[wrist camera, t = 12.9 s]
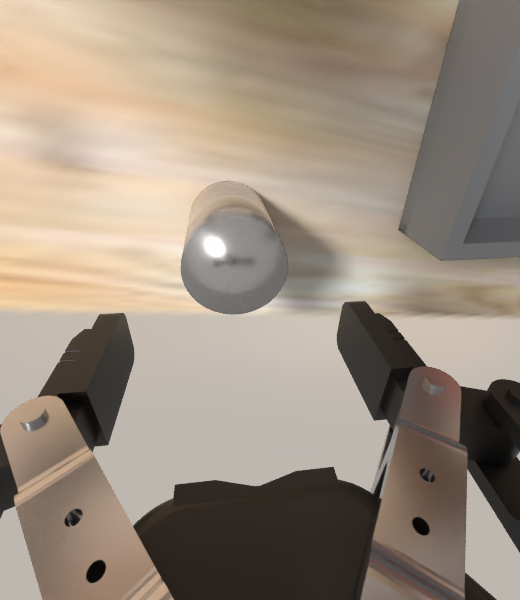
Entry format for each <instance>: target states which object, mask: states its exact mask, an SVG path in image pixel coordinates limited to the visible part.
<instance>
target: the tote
mask: <svg viewBox="0 0 520 600" xmlns="http://www.w3.org/2000/svg"><path fill="white" fill-rule="evenodd" d="M398 230H399V231H401V232H402V233H404V234H405V235H406V236H408V237H409V238H410V239H412V240H413V241H414V242H416V243H417V244H419V245H420V246H421V247H423V248H424V249H425V250H427V251H428V252H430V253H431V254H432V255H434V256H435V257H436V258H438V259H439V260H440V261H444V260H465V259H486V258H507V257H520V0H459V4H458V8H457V11H456V15H455V19H454V23H453V26H452V30H451V34H450V38H449V41H448V45H447V49H446V53H445V57H444V60H443V64H442V68H441V72H440V75H439V79H438V83H437V87H436V90H435V94H434V98H433V102H432V105H431V109H430V113H429V117H428V120H427V124H426V128H425V132H424V135H423V139H422V143H421V147H420V150H419V154H418V158H417V162H416V166H415V169H414V173H413V177H412V181H411V184H410V188H409V192H408V196H407V199H406V203H405V207H404V211H403V214H402V218H401V222H400V226H399V229H398Z"/></svg>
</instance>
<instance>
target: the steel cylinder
mask: <svg viewBox="0 0 520 600" xmlns="http://www.w3.org/2000/svg"><path fill="white" fill-rule="evenodd" d="M287 271H288V260H287V255H286V252H285V249H284V247H283V245H282V243H281V240H280V238H279V236H278V234H277V232H276V229H275V227H274V225H273V223H272V221H271V219H270V216H269V214H268V212H267V210H266V208H265V206H264V203H263V201H262V200H261V198H260V197H259V195H258V194H257V193H256V192H255V191H254V190H253V189H251V188H250V187H248V186H246V185H244V184H242V183H239V182H234V181H222V182H217V183H215V184H212V185H210V186H208V187H207V188H205V189H204V190H203V191H202V192H201V193H200V194H199V195H198V196H197V197H196V199H195V201H194V203H193V205H192V208H191V212H190V218H189V223H188V228H187V233H186V239H185V244H184V249H183V254H182V260H181V275H182V280H183V282H184V285H185V287H186V289H187V291H188V292H189V293H190V295H191V296H192V297H193V298H194V299H195V300H196V301H197V302H198V303H200V304H201V305H203V306H204V307H206V308H208V309H210V310H212V311H215V312H219V313H223V314H243V313H248V312H251V311H254V310H257V309H259V308H261V307H263V306H264V305H266V304H267V303H269V302H270V301H271V300H272V299H273V298H274V297H275V296H276V295H277V294H278V293H279V291H280V290H281V288H282V287H283V284H284V282H285V280H286V276H287Z"/></svg>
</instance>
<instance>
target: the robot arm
mask: <svg viewBox="0 0 520 600" xmlns="http://www.w3.org/2000/svg"><path fill="white" fill-rule="evenodd" d="M337 345H338V349H339V351H340V353H341V355H342V357H343V359H344V361H345V363H346V365H347V367H348V369H349V371H350V373H351V375H352V377H353V379H354V381H355V383H356V385H357V387H358V389H359V391H360V393H361V395H362V397H363V399H364V401H365V403H366V405H367V407H368V409H369V411H370V413H371V415H372V417H373V419H374V420H384V419H387V421H388V423H389V424H390V426H389V429H388V432H387V435H386V439H385V443H384V446H383V451H382V454H381V458H380V461H379V465H378V469H377V473H376V476H375V480H374V483H373V486H372V489H371V492H369V491H367V490H365V489H363V488H362V487H360V486H357V485H355V484H352V483H349V482H346V481H342V480H338V479H337V476H336V473H335V470H334V467H328V468H320V469H311V470H302V471H295V472H293V473H290V474H288V475H286V476H283V477H281V478H279V479H276V480H273V481H271V482H269V483H266V484H263V485H261V486H249V485H243V484H236V483H230V482H224V481H217V480H213V481H204V482H195V483H187V484H178V485H175V490H174V498H173V499H171V500H168V501H166V502H164V503H162V504H160V505H159V506H157V507H155V508H154V509H152V510H151V511H150V512H148V513H147V514H146V515H144V516H143V517H142V518H141V519H140V520H138V521H137V522H136V523H135V525H133V526H132V524H131V522H130V520H129V518H128V517H127V515H126V513H125V511H124V509H123V508H122V506H121V504H120V502H119V500H118V498H117V497H116V495H115V493H114V491H113V489H112V487H111V486H110V484H109V482H108V480H107V478H106V477H105V475H104V473H103V471H102V469H101V467H100V466H99V464H98V462H97V460H96V458H95V456H94V455H93V453H92V452H93V449H94V446H103V445H108V444H109V441H110V437H111V434H112V431H113V428H114V425H115V421H116V418H117V415H118V411H119V408H120V405H121V402H122V398H123V395H124V392H125V389H126V386H127V382H128V379H129V376H130V373H131V369H132V366H133V363H134V347H133V343H132V339H131V335H130V331H129V327H128V323H127V320H126V316H125V314H124V313H114V314H100V315H99V316H98V318H97V320H96V322H95V323H94V325H93V327H92V329H84V330H83V331H82V332H81V333H79V334H78V335H77V336H76V337H74V338H73V339H72V340H71V342H70V344H69V346H68V347H67V349H66V350H65V353H64V354H63V355H62V357H61V359H60V362H59V363H58V364H57V365H56V367H55V369H54V371H53V372H52V374H51V376H50V377H49V379H48V381H47V382H46V384H45V386H44V387H43V389H42V391H41V392H40V394H39V396H38V397H37V398H34V399H31V400H29V401H27V402H25V403H23V404H21V405H20V406H18V407H17V408H15V409H14V410H13V411H12V412H11V413H10V414H9V415H8V416H7V417H6V418H5V420H4V421H3V423H2V424H1V425H0V518H1V516H2V513H3V511H4V510H7V509H9V508H12V507H14V506H16V510H17V513H18V517H19V520H20V524H21V527H22V530H23V534H24V537H25V541H26V544H27V548H28V551H29V554H30V558H31V561H32V565H33V568H34V572H35V575H36V578H37V582H38V585H39V589H40V592H41V596H42V599H43V600H496V599H495V598H494V597H493V596H492V595H491V594H490V593H488V592H487V591H486V590H485V589H484V588H483V587H481V586H480V585H479V584H478V583H477V582H476V581H474V580H473V579H472V578H471V577H470V576H469V575H468V574H466V573H465V544H466V498H467V496H466V495H467V469H468V470H469V472H470V474H471V475H472V477H473V478H474V480H475V482H476V483H477V485H478V486H479V488H480V490H481V491H482V493H483V494H484V496H485V498H486V499H487V501H488V502H489V504H490V506H491V507H492V509H493V510H494V512H495V514H496V515H497V517H498V519H499V520H500V522H501V523H502V525H503V526H504V528H505V529H506V531H507V533H508V535H509V536H510V538H511V539H512V541H513V543H514V544H515V546H516V547H517V549H518V550H519V552H520V461H519V460H518V458H517V457H516V456H517V455H518V453H519V452H520V383H518V382H515V381H511V380H505V379H504V380H503V379H501V380H496V381H494V382H492V383H491V385H490V386H489V388H488V390H487V391H485V390H479V389H473V388H467V387H461V386H459V384H458V383H457V382H456V381H455V380H454V379H453V378H452V377H451V376H450V375H448V374H447V373H445V372H443V371H441V370H438V369H436V368H432V367H427V366H426V365H425V363H424V362H423V361H422V360H421V358H420V357H419V356H418V355H417V353H416V352H415V351H414V350H413V348H412V347H411V346H410V345H409V344H408V342H407V341H406V340H404V337H403V336H402V334H401V333H400V332H398V329H397V328H396V327H395V326H394V325H393V323H392V322H391V321H390V320H388V319H387V318H385V317H384V316H382V315H381V314H379V313H376V314H375V313H374V312H373V310H372V309H371V308H370V306H369V305H368V304H367V303H366V302H365V301H358V302H345V303H344V304H343V306H342V311H341V316H340V321H339V327H338V332H337Z"/></svg>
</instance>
